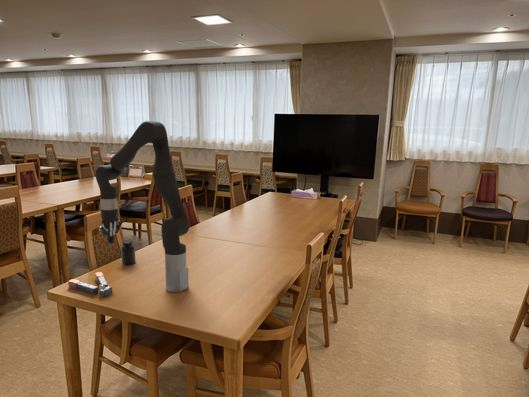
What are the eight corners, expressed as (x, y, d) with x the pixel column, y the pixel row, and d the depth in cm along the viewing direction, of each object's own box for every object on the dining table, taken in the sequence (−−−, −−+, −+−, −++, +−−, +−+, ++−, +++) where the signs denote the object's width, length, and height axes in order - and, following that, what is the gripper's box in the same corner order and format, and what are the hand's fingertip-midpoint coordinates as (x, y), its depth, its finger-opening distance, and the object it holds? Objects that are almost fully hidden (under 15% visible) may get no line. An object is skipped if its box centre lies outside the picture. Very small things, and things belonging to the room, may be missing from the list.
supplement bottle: (131, 259, 202) (130, 238, 199) (138, 262, 197) (137, 241, 195) (119, 263, 196) (118, 241, 194) (126, 266, 192) (125, 244, 190)
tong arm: (108, 290, 164) (108, 283, 163) (102, 291, 163) (101, 285, 162) (101, 278, 177) (101, 271, 177) (95, 279, 176) (95, 272, 175)
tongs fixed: (112, 293, 161) (112, 284, 161) (102, 298, 157) (101, 289, 156) (79, 283, 171) (78, 275, 170) (68, 287, 166) (68, 279, 165)
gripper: (103, 211, 167) (105, 248, 170) (126, 206, 178) (127, 240, 182) (91, 209, 170) (94, 245, 173) (114, 204, 182) (116, 238, 185)
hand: (111, 242), depth 177 cm, fingers closed
